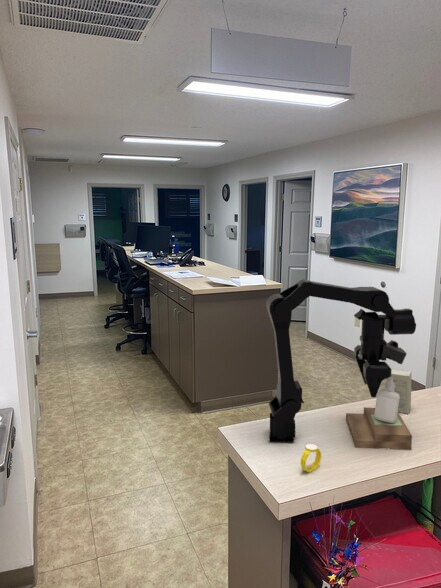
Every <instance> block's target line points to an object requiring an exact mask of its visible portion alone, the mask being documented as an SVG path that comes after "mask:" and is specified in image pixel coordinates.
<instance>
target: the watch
mask: <svg viewBox="0 0 441 588" xmlns="http://www.w3.org/2000/svg"><path fill="white" fill-rule="evenodd" d="M311 453H315V459H314V462H313V463H312V464H311V465H310V466H309V467H307V465H306V464H307V460H308V456H309V455H310V454H311ZM321 460H322V452H321V450H320V448H319V447H318V446H317V445H316V444H313V443H309V444H306V445H305V450H304V451H303V452H302V455H301V457H300V466H301V469H302V470H303V471H305V472H307V473H311V472H312V471H314V470H316V469H318V468H319V466H320V463H321Z"/></svg>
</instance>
